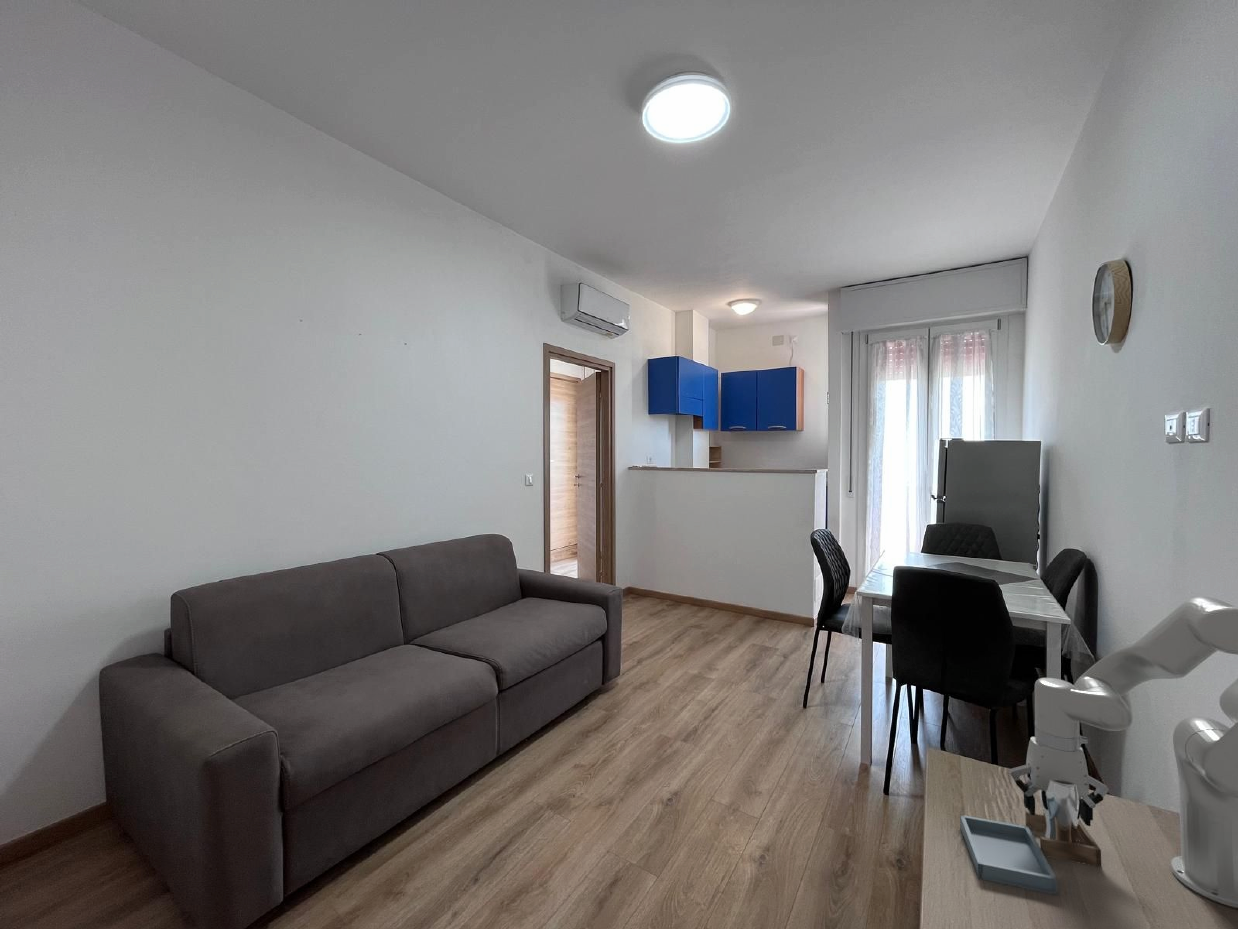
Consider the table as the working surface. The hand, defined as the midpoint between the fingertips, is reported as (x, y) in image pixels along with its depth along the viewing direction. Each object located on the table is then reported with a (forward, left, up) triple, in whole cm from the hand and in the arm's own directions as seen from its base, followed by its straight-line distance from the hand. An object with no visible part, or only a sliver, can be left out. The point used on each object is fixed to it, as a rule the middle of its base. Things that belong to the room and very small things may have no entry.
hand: (1057, 816), depth 116 cm
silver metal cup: (-1, 0, -6) cm, 6 cm away
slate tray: (+12, +9, -6) cm, 16 cm away
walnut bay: (-1, 0, -6) cm, 6 cm away
